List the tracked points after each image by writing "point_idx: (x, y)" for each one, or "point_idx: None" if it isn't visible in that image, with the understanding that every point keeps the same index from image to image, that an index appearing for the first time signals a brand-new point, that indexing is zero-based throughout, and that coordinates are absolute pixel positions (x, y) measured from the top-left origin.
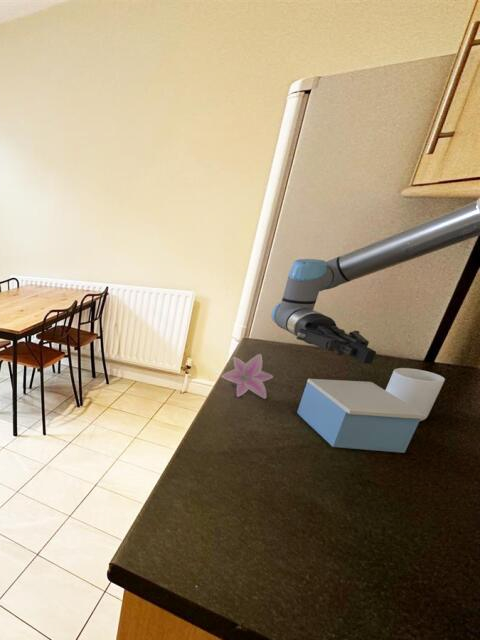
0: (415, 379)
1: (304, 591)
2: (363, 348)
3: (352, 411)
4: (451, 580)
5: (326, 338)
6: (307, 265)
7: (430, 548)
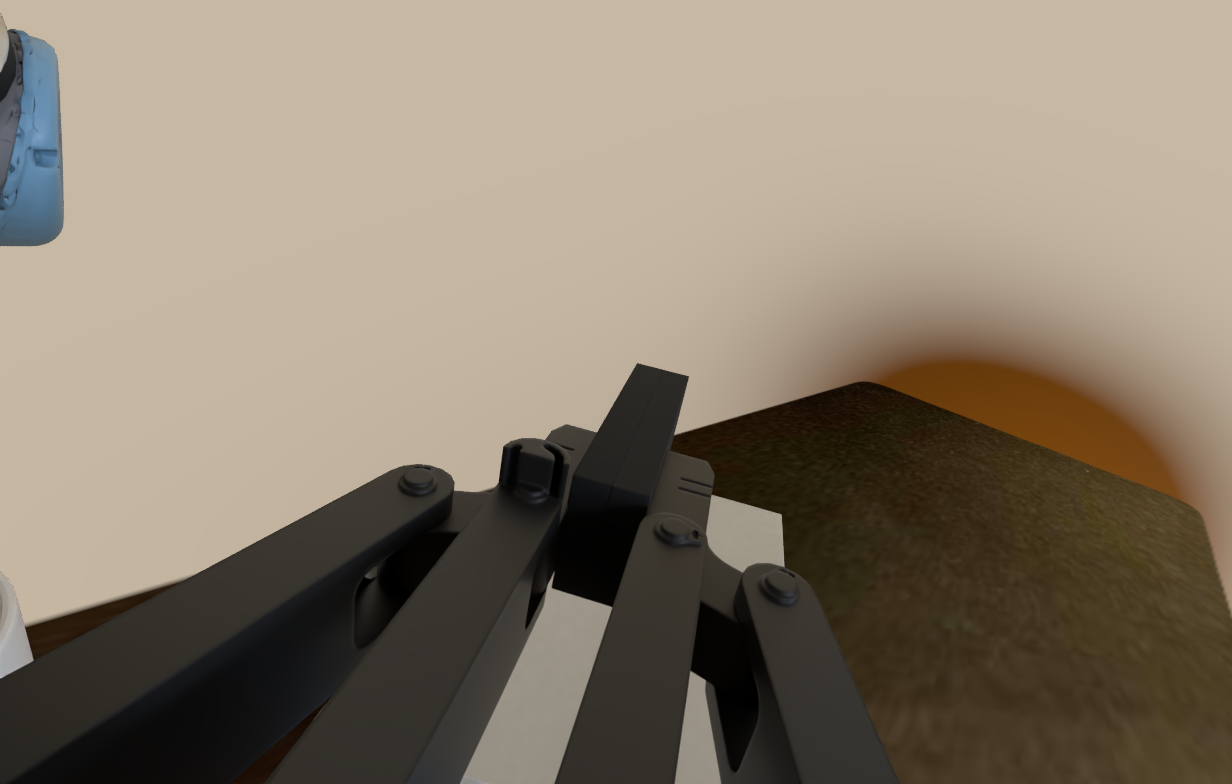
0: (12, 608)
1: (959, 444)
2: (674, 398)
3: (771, 514)
4: (774, 417)
5: (839, 663)
6: None
7: (759, 439)
